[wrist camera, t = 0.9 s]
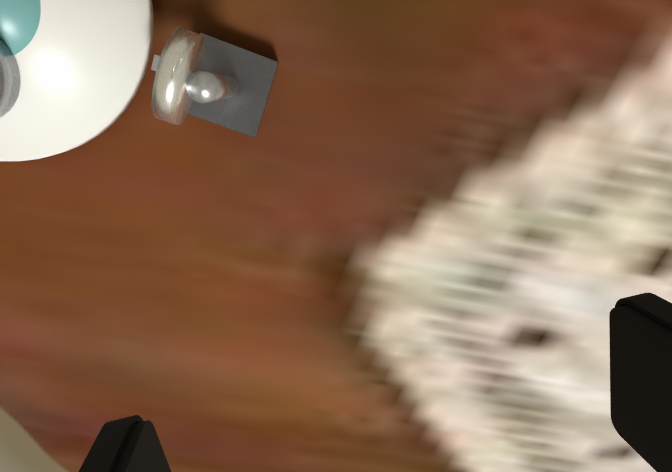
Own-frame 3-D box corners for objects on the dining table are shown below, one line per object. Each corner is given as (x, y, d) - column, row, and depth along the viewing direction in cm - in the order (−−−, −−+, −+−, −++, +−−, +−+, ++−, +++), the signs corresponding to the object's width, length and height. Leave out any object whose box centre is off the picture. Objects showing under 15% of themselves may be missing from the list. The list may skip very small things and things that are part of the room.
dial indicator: (180, 25, 35) (112, -13, 22) (278, 62, 37) (273, 49, 23) (161, 102, 37) (87, 112, 23) (256, 135, 38) (239, 162, 25)
